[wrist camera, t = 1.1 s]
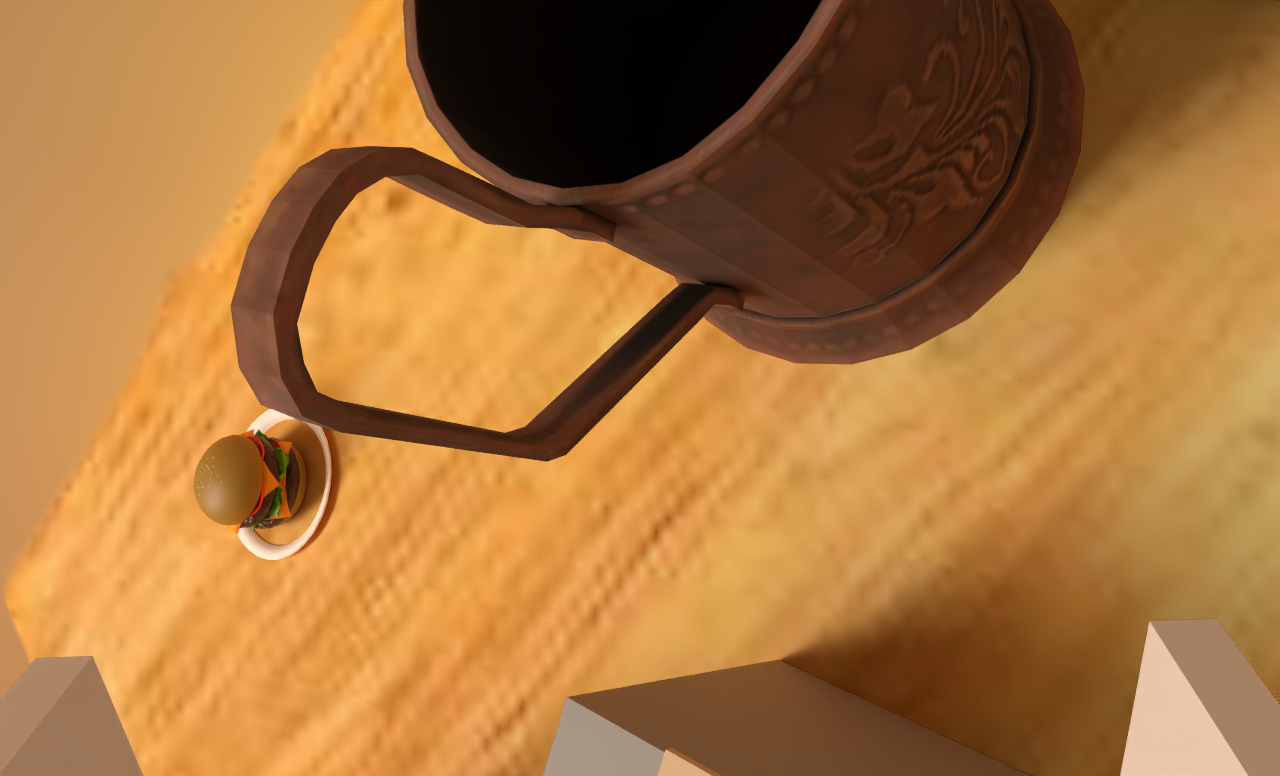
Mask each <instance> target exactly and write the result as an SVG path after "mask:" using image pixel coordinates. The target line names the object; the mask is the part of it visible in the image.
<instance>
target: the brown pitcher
mask: <svg viewBox="0 0 1280 776" xmlns="http://www.w3.org/2000/svg"><path fill="white" fill-rule="evenodd" d="M403 13H404V29H405V45H406V61H407V66H408V69H409V72H410V74H411V77H412V80H413V82H414V85H415V88H416V90H417V93H418V96H419V98H420V101H421V104H422V106H423V109H424V112H425V114H426V117H427V119H428V120H429V121H430V122H431V124H432V125H433V126H434V128H435V129H436V130H437V132H438V133H439V134H440V135H441V137H442V138H443V139H444V141H445V142H446V143H447V144H448V146H449V147H450V148H451V150H452V151H453V152H454V154H455V155H456V156H457V157H458V159H459V160H460V161H461V162H462V163H463V164H465V165H466V166H467V167H469V168H470V169H472V170H473V171H475V172H476V173H478V174H479V175H481V176H482V177H483V178H485V179H486V180H488V181H489V182H491V183H492V184H494V185H495V186H494V185H492V184H490V183H487V182H485V181H483V180H481V179H479V178H477V177H475V176H473V175H470V174H468V173H466V172H464V171H462V170H460V169H458V168H455V167H453V166H451V165H449V164H447V163H445V162H442V161H440V160H438V159H436V158H434V157H431V156H429V155H427V154H425V153H423V152H420V151H418V150H416V149H414V148H405V147H377V146H365V147H354V148H342V149H331V150H329V151H327V152H326V153H324V154H322V155H320V156H319V157H317V158H315V159H313V160H311V161H310V162H308V163H306V164H304V165H302V166H301V167H299V168H298V169H297V171H296V172H295V173H294V174H293V175H292V177H291V178H290V179H289V180H288V182H287V183H286V184H285V185H284V187H283V188H282V189H281V190H280V191H279V193H278V194H277V195H276V196H275V198H274V199H273V200H272V202H271V203H270V205H269V207H268V209H267V211H266V213H265V215H264V217H263V219H262V221H261V222H260V224H259V226H258V228H257V230H256V232H255V234H254V236H253V238H252V240H251V241H250V243H249V245H248V248H247V251H246V255H245V258H244V262H243V265H242V269H241V272H240V275H239V279H238V282H237V286H236V289H235V293H234V296H233V299H232V303H231V312H232V319H233V326H234V334H235V341H236V348H237V355H238V362H239V368H240V370H241V371H242V373H243V375H244V376H245V378H246V380H247V382H248V383H249V385H250V387H251V388H252V390H253V392H254V393H255V395H256V397H257V399H258V400H259V402H260V404H261V405H263V406H265V407H268V408H270V409H273V410H275V411H278V412H280V413H283V414H285V415H288V416H290V417H293V418H295V419H298V420H300V421H304V422H307V423H311V424H314V425H317V426H321V427H324V428H328V429H331V430H335V431H338V432H342V433H349V434H356V435H363V436H371V437H378V438H385V439H392V440H399V441H406V442H413V443H420V444H427V445H434V446H441V447H448V448H455V449H462V450H469V451H476V452H484V453H491V454H498V455H505V456H512V457H519V458H526V459H533V460H540V461H550V460H553V459H556V458H558V457H561V456H564V455H566V454H567V453H568V452H569V451H570V450H571V449H572V448H573V447H574V446H575V445H576V444H577V443H578V442H579V441H580V440H581V439H582V438H583V437H584V436H585V435H586V434H587V433H588V432H589V431H590V430H591V429H592V428H593V427H594V426H595V425H596V424H597V423H598V422H599V421H600V420H601V419H602V418H603V417H604V416H605V415H606V414H607V413H608V412H609V411H610V410H611V409H612V408H613V407H614V406H615V405H616V404H617V403H618V402H619V401H620V400H621V399H622V398H623V397H624V396H625V395H626V394H627V393H628V392H629V391H630V390H631V389H632V388H633V387H634V386H635V385H636V384H637V383H638V382H639V381H640V380H641V379H642V378H643V377H644V376H645V375H646V374H647V373H648V372H649V371H650V370H651V369H652V368H653V367H654V366H655V365H656V364H657V363H658V362H659V361H660V360H661V359H662V358H663V357H664V356H665V355H666V354H667V353H668V352H669V351H670V350H671V349H672V348H673V347H674V346H675V345H676V344H677V343H678V342H679V341H680V340H681V339H682V338H683V337H684V336H685V335H686V334H687V333H688V332H689V331H690V330H691V329H692V328H693V327H694V326H695V325H696V324H697V323H698V322H699V321H700V320H701V319H702V318H703V316H704V318H705V319H706V320H707V321H708V322H710V323H711V324H713V325H714V326H716V327H717V328H719V329H720V330H722V331H723V332H724V333H726V334H727V335H729V336H730V337H732V338H733V339H735V340H736V341H737V342H739V343H740V344H742V345H743V346H745V347H746V348H749V349H752V350H755V351H759V352H762V353H765V354H768V355H771V356H774V357H778V358H781V359H784V360H787V361H790V362H793V363H809V364H855V363H859V362H863V361H867V360H871V359H875V358H879V357H883V356H887V355H891V354H895V353H899V352H903V351H907V350H911V349H913V348H915V347H917V346H919V345H920V344H922V343H924V342H926V341H928V340H930V339H932V338H933V337H935V336H937V335H939V334H941V333H943V332H945V331H946V330H948V329H950V328H952V327H954V326H956V325H958V324H959V323H961V322H963V321H965V320H967V319H969V318H970V317H971V316H972V315H973V314H974V313H975V312H976V311H978V310H979V309H980V308H981V307H982V306H983V305H984V304H985V303H986V302H988V301H989V300H990V299H991V298H992V297H993V296H994V295H995V294H996V293H998V292H999V291H1000V290H1001V289H1002V288H1003V287H1004V286H1005V285H1006V284H1008V283H1009V282H1010V281H1011V280H1012V279H1013V278H1014V277H1015V276H1016V275H1018V274H1019V273H1020V271H1021V270H1022V268H1023V267H1024V265H1025V264H1026V262H1027V261H1028V259H1029V258H1030V256H1031V255H1032V253H1033V252H1034V250H1035V249H1036V248H1037V246H1038V245H1039V243H1040V242H1041V240H1042V239H1043V237H1044V236H1045V234H1046V233H1047V231H1048V230H1049V228H1050V227H1051V225H1052V224H1053V222H1054V221H1055V220H1056V218H1057V217H1058V214H1059V211H1060V209H1061V206H1062V203H1063V200H1064V197H1065V195H1066V192H1067V189H1068V186H1069V183H1070V181H1071V178H1072V175H1073V172H1074V169H1075V167H1076V164H1077V161H1078V158H1079V155H1080V151H1081V136H1082V120H1083V105H1084V86H1083V82H1082V78H1081V74H1080V70H1079V66H1078V62H1077V58H1076V54H1075V50H1074V46H1073V42H1072V38H1071V34H1070V31H1069V30H1068V28H1067V27H1066V25H1065V24H1064V22H1063V21H1062V19H1061V17H1060V16H1059V14H1058V13H1057V11H1056V10H1055V8H1054V7H1053V5H1052V4H1051V2H1050V1H1049V0H404V3H403ZM384 177H388V178H390V179H392V180H394V181H396V182H398V183H400V184H402V185H404V186H406V187H408V188H410V189H412V190H415V191H417V192H419V193H421V194H423V195H425V196H427V197H429V198H431V199H433V200H436V201H438V202H440V203H442V204H444V205H446V206H448V207H450V208H452V209H455V210H457V211H459V212H461V213H464V214H466V215H468V216H470V217H473V218H475V219H477V220H480V221H482V222H484V223H486V224H494V225H505V226H516V227H526V228H549V229H554V230H557V231H559V232H561V233H563V234H565V235H567V236H569V237H571V238H573V239H581V240H591V241H601V242H606V243H608V244H610V245H612V246H614V247H616V248H618V249H620V250H622V251H624V252H626V253H628V254H630V255H632V256H634V257H636V258H638V259H640V260H642V261H645V262H647V263H649V264H651V265H653V266H655V267H657V268H659V269H661V270H663V271H665V272H667V273H669V274H671V275H673V276H675V279H676V281H677V283H678V285H679V286H678V287H676V288H675V289H674V290H673V291H671V292H670V293H669V294H668V295H667V296H666V297H664V298H663V299H662V300H661V301H660V302H659V303H658V304H657V305H656V306H655V307H654V308H653V309H652V310H650V311H649V312H648V313H647V314H646V315H645V316H644V317H643V318H642V319H641V320H640V321H639V322H638V323H636V324H635V325H634V326H633V327H632V328H631V329H630V330H629V331H628V332H627V333H626V334H625V335H623V336H622V337H621V338H620V339H619V340H618V341H617V342H616V343H615V344H614V345H613V346H612V347H611V348H609V349H608V350H607V351H606V352H605V353H604V354H603V355H602V356H601V357H600V358H599V359H598V360H597V361H595V362H594V363H593V364H592V365H591V366H590V367H589V368H588V369H587V370H586V371H585V372H584V373H583V374H581V375H580V376H579V377H578V378H577V379H576V380H575V381H574V382H573V383H572V384H571V385H570V386H569V387H567V388H566V389H565V390H564V391H563V392H562V393H561V394H560V395H559V396H558V397H557V398H556V399H554V400H553V401H552V402H551V403H550V404H549V405H548V406H547V407H546V408H545V409H544V410H543V411H542V412H540V413H539V414H538V415H537V416H536V417H535V418H534V419H533V420H532V421H531V422H530V423H529V424H528V425H526V426H525V427H523V428H520V429H516V430H513V431H510V432H507V433H503V432H498V431H493V430H488V429H482V428H477V427H472V426H467V425H462V424H457V423H451V422H446V421H441V420H436V419H431V418H426V417H420V416H415V415H410V414H405V413H400V412H395V411H389V410H384V409H379V408H374V407H369V406H364V405H358V404H353V403H348V402H343V401H338V400H335V399H332V398H330V397H328V396H326V395H323V394H321V393H319V392H317V390H316V388H315V386H314V383H313V381H312V379H311V377H310V375H309V373H308V371H307V369H306V366H305V364H304V360H303V355H302V349H301V344H300V338H299V332H298V327H297V322H298V318H299V315H300V311H301V308H302V304H303V301H304V297H305V294H306V290H307V287H308V283H309V280H310V276H311V273H312V269H313V266H314V263H315V261H316V259H317V257H318V255H319V253H320V251H321V249H322V247H323V245H324V243H325V241H326V239H327V237H328V235H329V233H330V231H331V229H332V227H333V226H334V224H335V222H336V220H337V219H338V218H339V216H340V215H341V214H342V212H343V211H344V210H345V209H346V207H347V206H348V205H349V203H350V202H351V201H352V200H353V198H354V197H355V196H356V194H357V193H359V192H361V191H362V190H364V189H366V188H367V187H369V186H371V185H373V184H374V183H376V182H378V181H379V180H381V179H383V178H384ZM496 186H497V187H496Z"/></svg>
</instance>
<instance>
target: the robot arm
mask: <svg viewBox="0 0 1280 776" xmlns="http://www.w3.org/2000/svg"><path fill="white" fill-rule="evenodd" d="M0 776H143V774H142V772H141V769H140V767H139V765H138V762H137V760H136V757H135V755H134V753H133V750H132V748H131V746H130V743H129V741H128V739H127V736H126V734H125V731H124V729H123V727H122V724H121V722H120V720H119V717H118V715H117V713H116V710H115V708H114V705H113V703H112V701H111V698H110V696H109V694H108V691H107V689H106V687H105V684H104V682H103V679H102V677H101V675H100V672H99V670H98V668H97V665H96V663H95V661H94V658H93V656H78V657H48V658H35V660H34V661H33V662H32V663H31V664H30V665H29V667H28V668H27V669H26V670H25V671H24V672H23V674H22V675H21V676H20V677H19V678H18V679H17V681H16V682H15V683H14V684H13V685H12V686H11V688H10V689H9V690H8V691H7V692H6V693H5V695H4V696H3V697H2V698H1V699H0ZM1120 776H1280V704H1279V703H1278V702H1277V700H1276V699H1275V698H1274V696H1273V695H1272V693H1271V692H1270V691H1269V689H1268V688H1267V687H1266V685H1265V684H1264V683H1263V681H1262V680H1261V678H1260V677H1259V676H1258V674H1257V673H1256V672H1255V670H1254V669H1253V668H1252V666H1251V665H1250V663H1249V662H1248V661H1247V659H1246V658H1245V657H1244V655H1243V654H1242V653H1241V651H1240V650H1239V649H1238V647H1237V646H1236V644H1235V643H1234V642H1233V640H1232V639H1231V638H1230V636H1229V635H1228V634H1227V632H1226V631H1225V629H1224V628H1223V627H1222V625H1221V624H1220V623H1219V621H1218V620H1217V619H1198V620H1167V621H1149V626H1148V632H1147V637H1146V642H1145V647H1144V653H1143V658H1142V663H1141V668H1140V674H1139V679H1138V684H1137V690H1136V695H1135V700H1134V705H1133V711H1132V716H1131V721H1130V727H1129V732H1128V737H1127V742H1126V748H1125V753H1124V758H1123V763H1122V769H1121V774H1120Z"/></svg>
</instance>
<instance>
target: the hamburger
mask: <svg viewBox="0 0 1280 776" xmlns="http://www.w3.org/2000/svg"><path fill="white" fill-rule="evenodd" d="M286 419H295V418H293V417H290V416H288V415H285V414H283V413H280V412H278V411H275V410H273V409H269V410H267V411H266V412H265V413H263V414H262V415H260V416H259V417H258V418H257V419H256V420H255V421H254V422H253V423H252V424H251V426H250V427H249V429H248V430H247V432H245V433H243V434H241V435H231V436H227V437H224V438H222V439H220V440H218V441H216V442H215V443H214V444H212V445H211V446H210V447H209V448H208V449H207V451H206V452H205V453H204V455H203V456H202V458H201V460H200V462H199V464H198V466H197V469H196V472H195V478H194V491H195V496H196V499H197V502H198V504H199V507H200V508H201V510H202V511H203V512H204V513H205V514H206V515H207V516H208V517H209V518H210V519H212V520H213V521H215V522H217V523H220V524H223V525H226V526H227V527H228V528H230V529H231V530H232V531H234V532H236V533H237V534H238V536H239V538H240V540H241V541H242V543H243V544H244V545H245V546H246V547H247V548H248V550H250V551H251V552H252V553H254V554H255V555H257V556H258V557H261V558H264V559H267V560H279V559H282V558H286V557H289V556H290V555H292V554H294V553H295V552H297V551H298V550H299V549H300V548H301V547H303V546H304V545H305V544H306V543H307V542H308V540H309V539H310V538H311V536H312V535H313V533H314V532H315V531H316V529H317V527H318V525H319V523H320V521H321V519H322V517H323V514H324V511H325V508H326V505H327V502H328V497H329V492H330V487H331V473H332V468H331V454H330V450H329V445H328V441H327V438H326V436H325V433H324V431H323V428H322V427H321V426H317V425H314V424H311V423H307V422H304V421H302V422H304V423H306V424H307V425H308V426H309V427H310V428H311V429H312V430H313V431H314V432H315V434H316V435H317V437H318V438H319V441H320V443H321V446H322V448H323V452H324V457H325V464H326V482H325V489H324V494H323V499H322V502H321V505H320V508H319V511H318V513H317V515H316V517H315V519H314V521H313V522H312V524H311V525H310V526H309V528H308V529H307V531H306V532H305V533H304V534H302V535H301V536H300V537H299V538H298V539H296V540H295V541H293V542H292V543H289V544H286V545H283V546H275V545H272V544H269V543H267V542H265V541H264V540H262V539H261V538H260V537H259V536H258V535H257V533H256V532H255V531H254V529H255V528H257V529H265V528H272V527H274V526H278V525H280V524H282V523H284V522H286V521H288V520H289V519H290V518H291V517H292V516H293V515H294V514H295V513H296V512H297V511H298V509H299V507H300V505H301V503H302V501H303V499H304V495H305V491H306V485H307V472H306V466H305V463H304V460H303V458H302V456H301V455H300V453H299V452H298V451H297V449H296V448H295V447H293V446H292V444H293V443H292V442H284V441H282V440H280V439H278V438H274V437H270V438H268V437H267V436H266V435H264V433H265V432H266V431H267V430H268V429H269V428H270V427H272V426H273V425H275V424H276V423H278V422H280V421H283V420H286ZM297 420H298V419H297Z"/></svg>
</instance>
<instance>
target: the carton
mask: <svg viewBox="0 0 1280 776" xmlns="http://www.w3.org/2000/svg"><path fill="white" fill-rule="evenodd" d="M543 776H1029V775H1027V774H1025V773H1023V772H1021V771H1018V770H1016V769H1014V768H1012V767H1010V766H1008V765H1005V764H1003V763H1001V762H999V761H997V760H995V759H992V758H990V757H988V756H986V755H984V754H982V753H979V752H977V751H975V750H973V749H971V748H969V747H966V746H964V745H962V744H960V743H958V742H956V741H953V740H951V739H949V738H947V737H945V736H943V735H941V734H938V733H936V732H934V731H932V730H930V729H928V728H925V727H923V726H921V725H919V724H917V723H915V722H912V721H910V720H908V719H906V718H904V717H902V716H899V715H897V714H895V713H893V712H891V711H889V710H886V709H884V708H882V707H880V706H878V705H876V704H873V703H871V702H869V701H867V700H865V699H863V698H860V697H858V696H856V695H854V694H852V693H850V692H848V691H845V690H843V689H841V688H839V687H837V686H835V685H832V684H830V683H828V682H826V681H824V680H822V679H819V678H817V677H815V676H813V675H811V674H809V673H806V672H804V671H802V670H800V669H798V668H796V667H793V666H791V665H789V664H787V663H785V662H783V661H780V660H774V661H769V662H763V663H758V664H752V665H746V666H741V667H735V668H729V669H724V670H718V671H712V672H707V673H701V674H695V675H690V676H684V677H678V678H673V679H667V680H661V681H656V682H650V683H644V684H639V685H633V686H628V687H622V688H616V689H611V690H605V691H599V692H594V693H588V694H582V695H577V696H571V697H567V699H566V702H565V705H564V709H563V712H562V715H561V718H560V722H559V725H558V728H557V731H556V735H555V738H554V741H553V744H552V748H551V751H550V754H549V757H548V761H547V764H546V767H545V770H544V774H543Z"/></svg>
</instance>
